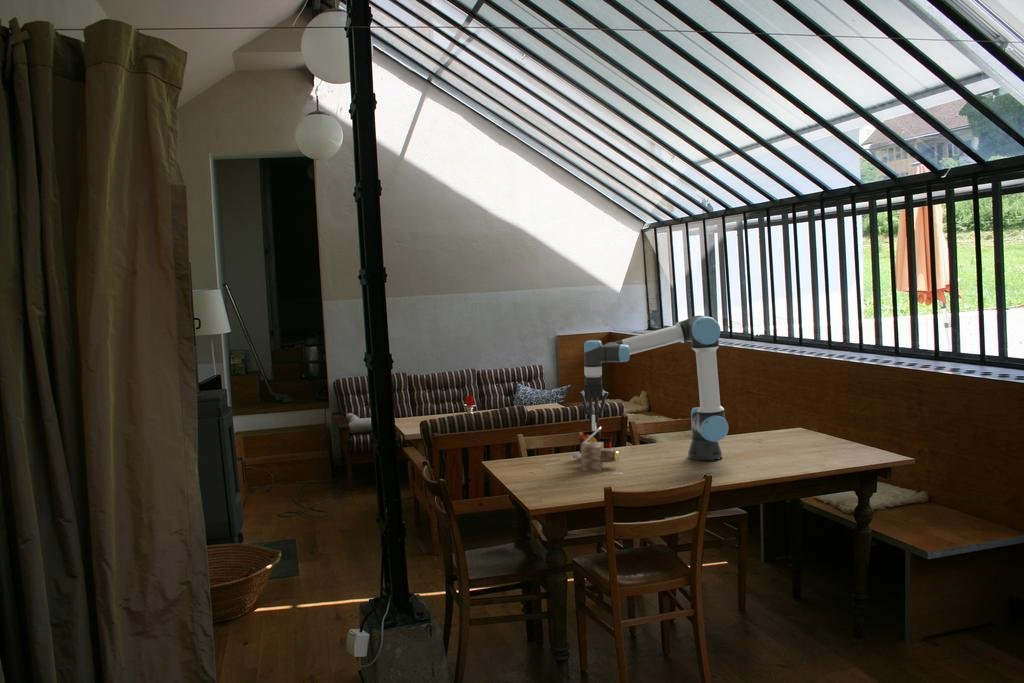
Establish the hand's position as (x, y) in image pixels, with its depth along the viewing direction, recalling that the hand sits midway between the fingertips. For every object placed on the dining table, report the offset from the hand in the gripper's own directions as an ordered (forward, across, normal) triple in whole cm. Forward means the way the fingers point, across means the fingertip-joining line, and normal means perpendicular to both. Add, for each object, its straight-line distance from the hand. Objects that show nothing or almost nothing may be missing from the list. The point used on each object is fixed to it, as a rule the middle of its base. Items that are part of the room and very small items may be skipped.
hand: (594, 430), depth 365 cm
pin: (+14, 0, 0) cm, 14 cm away
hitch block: (+16, -1, 0) cm, 16 cm away
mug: (+17, +3, -18) cm, 25 cm away
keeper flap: (+3, +1, 0) cm, 3 cm away
